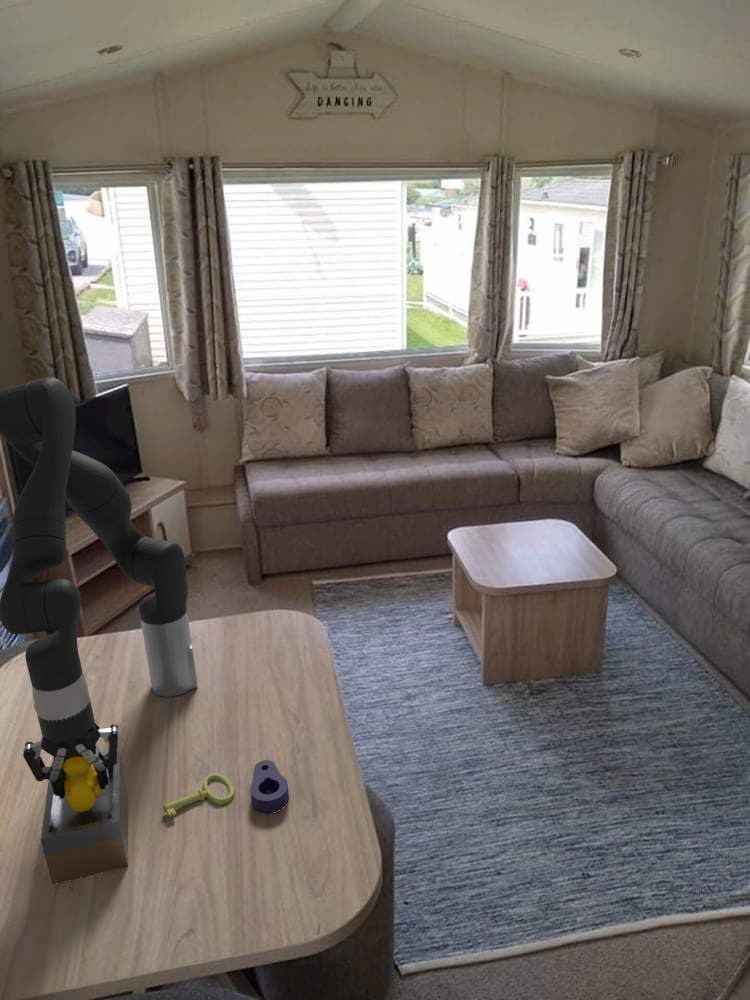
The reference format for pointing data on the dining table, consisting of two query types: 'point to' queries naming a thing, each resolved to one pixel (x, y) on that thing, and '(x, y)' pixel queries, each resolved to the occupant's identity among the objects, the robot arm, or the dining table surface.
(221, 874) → the dining table surface
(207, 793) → the key
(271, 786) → the lever
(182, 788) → the dining table surface
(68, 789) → the duckling
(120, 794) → the gray rectangular tray
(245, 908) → the dining table surface
